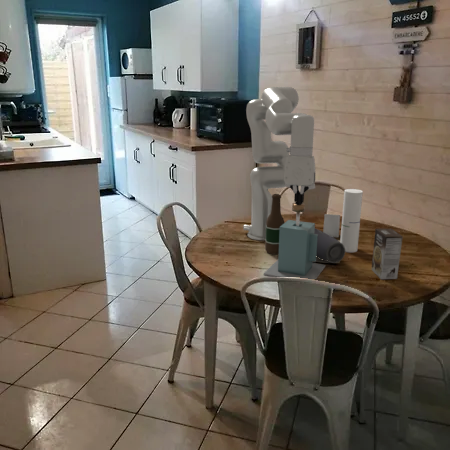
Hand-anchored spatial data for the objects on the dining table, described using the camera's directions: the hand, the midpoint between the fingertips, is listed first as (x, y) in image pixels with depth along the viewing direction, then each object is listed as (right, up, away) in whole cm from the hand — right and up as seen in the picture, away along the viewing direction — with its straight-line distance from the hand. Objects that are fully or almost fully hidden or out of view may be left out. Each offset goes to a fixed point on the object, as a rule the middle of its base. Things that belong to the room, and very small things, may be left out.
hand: (298, 203), depth 163 cm
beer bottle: (-6, -19, +27) cm, 33 cm away
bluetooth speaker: (+12, -20, +22) cm, 32 cm away
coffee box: (+32, -26, +5) cm, 41 cm away
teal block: (0, -24, +8) cm, 26 cm away
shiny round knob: (0, -15, +5) cm, 16 cm away
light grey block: (+22, -13, +47) cm, 54 cm away
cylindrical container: (+26, -18, +30) cm, 43 cm away
